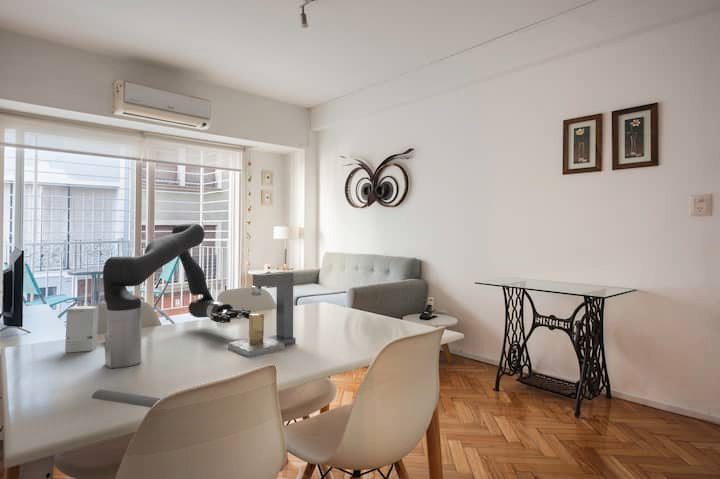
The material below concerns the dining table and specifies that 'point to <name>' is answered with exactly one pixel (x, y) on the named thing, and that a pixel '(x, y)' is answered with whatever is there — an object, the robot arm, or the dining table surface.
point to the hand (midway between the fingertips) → (240, 318)
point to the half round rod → (125, 398)
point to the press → (282, 315)
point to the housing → (256, 328)
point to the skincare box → (81, 328)
